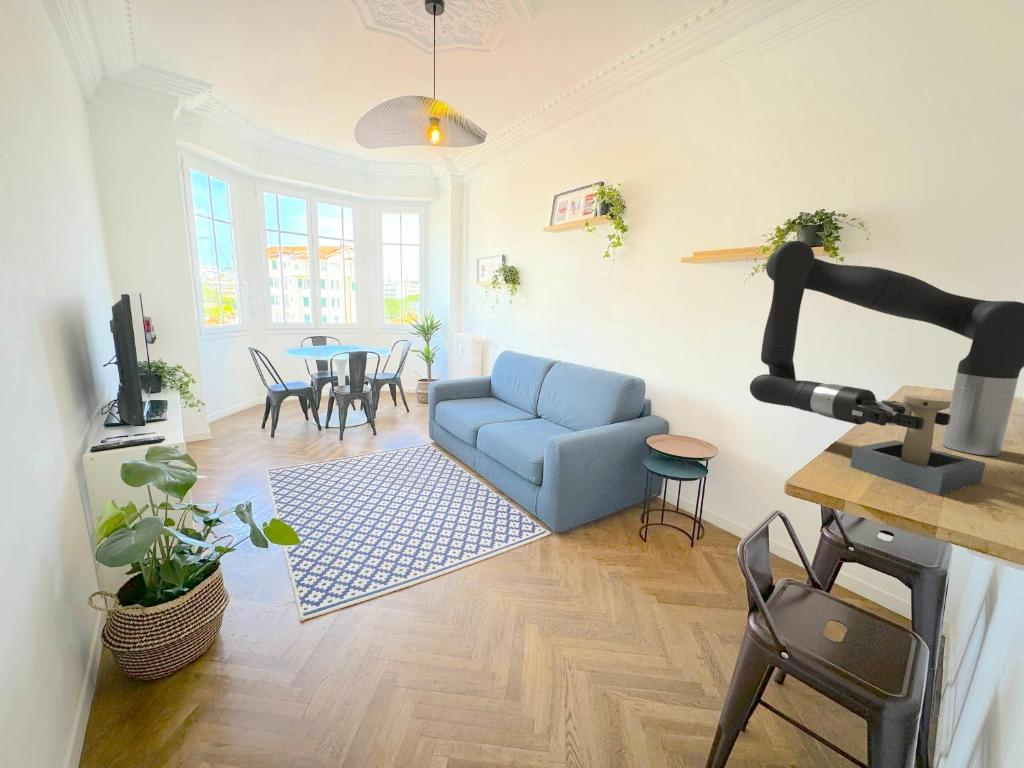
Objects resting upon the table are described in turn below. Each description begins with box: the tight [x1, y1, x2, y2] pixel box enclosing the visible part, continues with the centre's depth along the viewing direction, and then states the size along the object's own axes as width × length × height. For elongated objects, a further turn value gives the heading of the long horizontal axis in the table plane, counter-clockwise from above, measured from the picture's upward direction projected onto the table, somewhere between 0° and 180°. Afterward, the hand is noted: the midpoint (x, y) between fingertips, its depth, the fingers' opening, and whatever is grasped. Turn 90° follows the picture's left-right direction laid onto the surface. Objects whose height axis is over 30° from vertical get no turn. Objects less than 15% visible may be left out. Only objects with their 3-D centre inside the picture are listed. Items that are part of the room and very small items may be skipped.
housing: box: [849, 439, 986, 496], centre depth 83 cm, size 14×14×4 cm
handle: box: [901, 394, 951, 465], centre depth 82 cm, size 5×6×15 cm
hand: (936, 422), depth 79 cm, fingers open, 8 cm apart
